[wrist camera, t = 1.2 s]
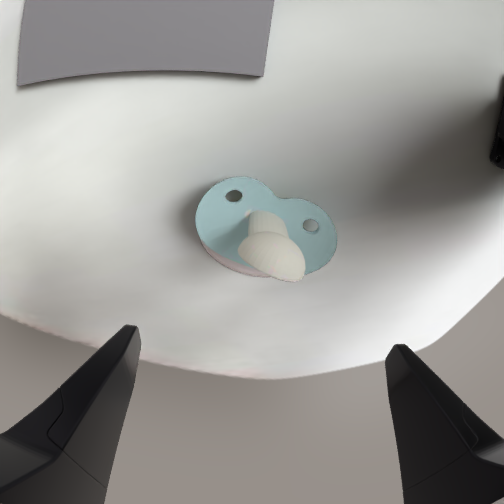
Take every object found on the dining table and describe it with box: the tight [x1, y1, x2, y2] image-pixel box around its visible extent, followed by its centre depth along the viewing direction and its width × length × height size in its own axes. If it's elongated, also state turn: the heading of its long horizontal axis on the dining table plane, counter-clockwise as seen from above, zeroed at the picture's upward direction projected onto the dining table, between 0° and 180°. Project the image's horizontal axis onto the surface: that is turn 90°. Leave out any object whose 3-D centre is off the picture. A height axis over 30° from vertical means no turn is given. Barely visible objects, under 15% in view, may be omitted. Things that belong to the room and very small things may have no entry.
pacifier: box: [195, 176, 337, 282], centre depth 15 cm, size 7×6×6 cm
